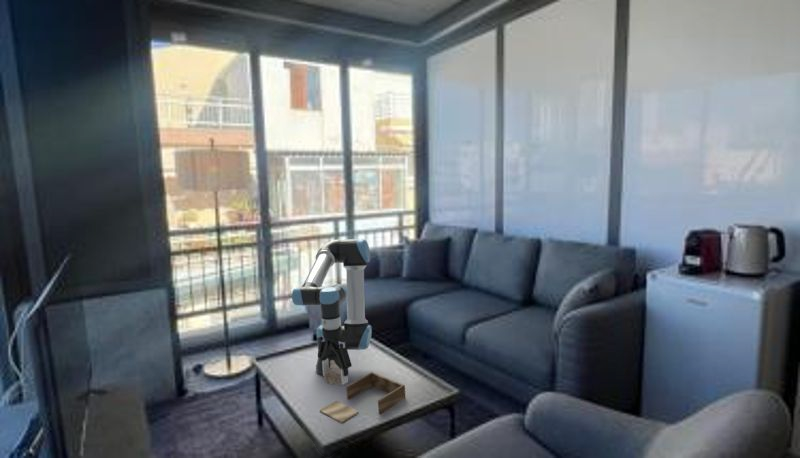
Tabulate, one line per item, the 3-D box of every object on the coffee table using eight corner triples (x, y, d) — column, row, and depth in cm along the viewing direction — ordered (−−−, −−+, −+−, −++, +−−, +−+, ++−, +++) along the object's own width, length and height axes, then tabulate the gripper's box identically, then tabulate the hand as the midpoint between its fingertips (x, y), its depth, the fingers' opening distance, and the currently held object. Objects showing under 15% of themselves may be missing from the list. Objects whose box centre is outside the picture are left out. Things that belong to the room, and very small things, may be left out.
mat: (319, 411, 183) (319, 410, 183) (336, 401, 189) (336, 400, 189) (342, 423, 174) (341, 421, 173) (358, 412, 180) (358, 411, 180)
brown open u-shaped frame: (347, 398, 191) (346, 385, 190) (372, 384, 203) (371, 372, 202) (380, 414, 178) (379, 400, 177) (405, 398, 190) (404, 385, 189)
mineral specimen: (320, 376, 184) (319, 362, 183) (336, 372, 187) (335, 358, 186) (330, 389, 172) (329, 374, 172) (347, 384, 176) (346, 370, 175)
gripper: (306, 323, 180) (310, 374, 184) (344, 336, 165) (347, 391, 168) (320, 318, 186) (324, 367, 189) (358, 330, 171) (362, 383, 174)
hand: (335, 378), depth 179 cm, fingers closed on mineral specimen, 11 cm apart
